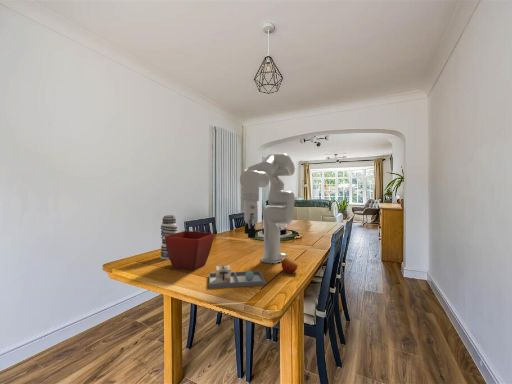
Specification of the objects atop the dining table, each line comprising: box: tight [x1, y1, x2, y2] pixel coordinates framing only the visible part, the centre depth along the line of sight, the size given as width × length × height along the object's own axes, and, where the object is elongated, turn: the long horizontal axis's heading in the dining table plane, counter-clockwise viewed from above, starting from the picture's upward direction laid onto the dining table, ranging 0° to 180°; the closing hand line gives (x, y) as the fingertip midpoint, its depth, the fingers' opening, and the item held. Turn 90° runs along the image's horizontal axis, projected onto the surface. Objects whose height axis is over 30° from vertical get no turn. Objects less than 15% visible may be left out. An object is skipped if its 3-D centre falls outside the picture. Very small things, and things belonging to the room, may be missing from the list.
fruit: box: [281, 257, 299, 274], centre depth 117 cm, size 8×8×8 cm
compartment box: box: [208, 270, 267, 289], centre depth 104 cm, size 24×13×2 cm, turn 101°
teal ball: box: [245, 270, 254, 280], centre depth 105 cm, size 4×4×4 cm
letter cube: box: [215, 264, 232, 283], centre depth 102 cm, size 6×6×6 cm
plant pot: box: [165, 230, 215, 271], centre depth 123 cm, size 19×19×17 cm
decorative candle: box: [160, 214, 178, 260], centre depth 138 cm, size 9×9×25 cm
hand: (249, 235), depth 105 cm, fingers open, 9 cm apart
